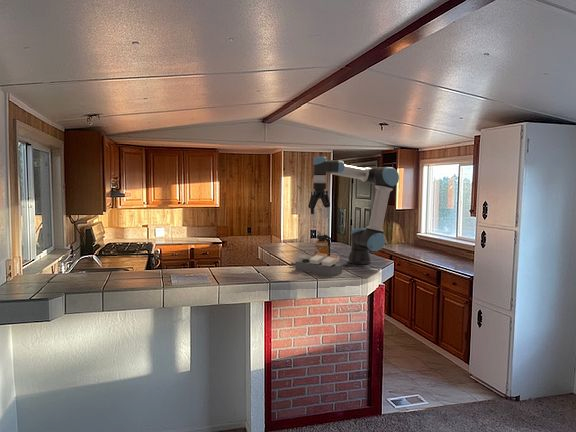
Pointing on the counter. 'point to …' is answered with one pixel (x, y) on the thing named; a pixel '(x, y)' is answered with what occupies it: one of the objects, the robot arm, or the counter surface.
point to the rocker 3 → (330, 260)
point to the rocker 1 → (305, 256)
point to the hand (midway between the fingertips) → (319, 218)
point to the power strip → (317, 267)
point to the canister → (323, 245)
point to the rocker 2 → (318, 258)
